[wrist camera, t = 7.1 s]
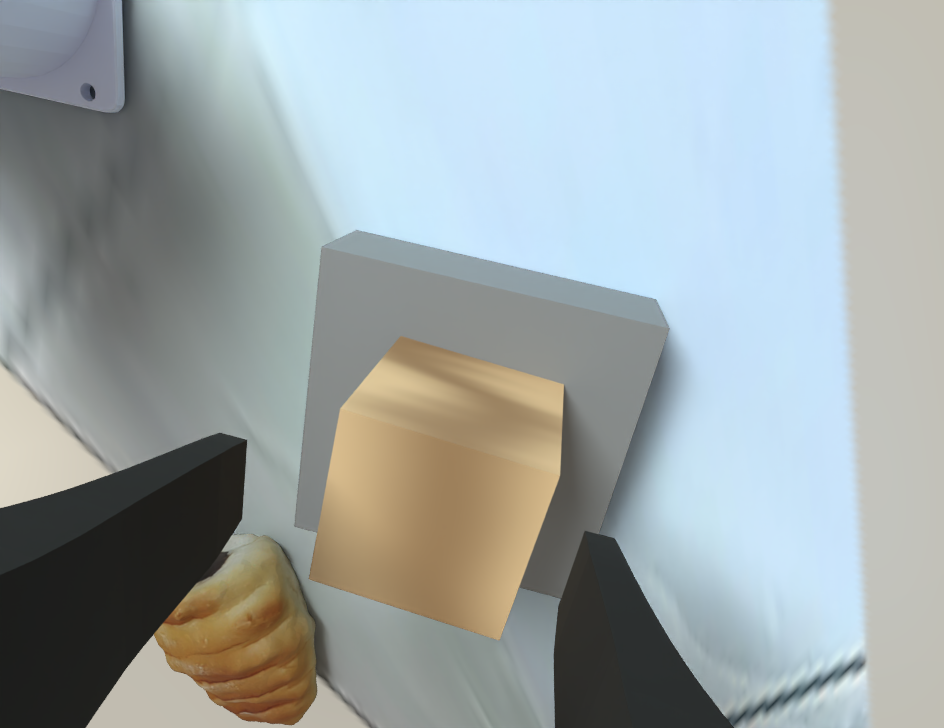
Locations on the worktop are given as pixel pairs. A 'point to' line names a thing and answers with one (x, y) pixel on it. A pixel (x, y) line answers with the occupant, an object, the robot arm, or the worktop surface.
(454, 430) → the oak block
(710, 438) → the worktop surface
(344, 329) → the gray block
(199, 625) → the pastry
